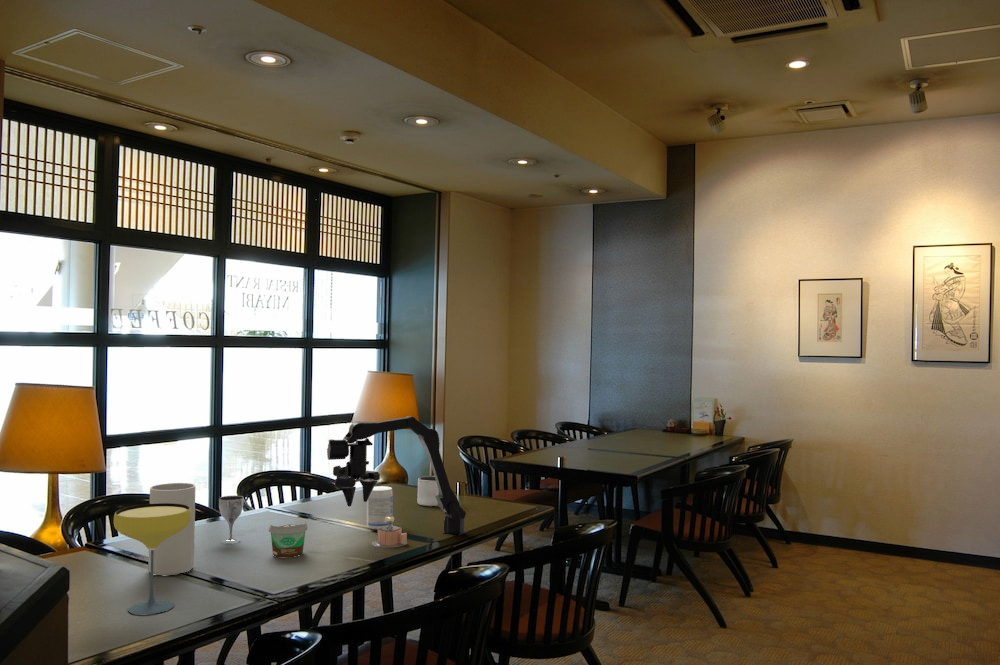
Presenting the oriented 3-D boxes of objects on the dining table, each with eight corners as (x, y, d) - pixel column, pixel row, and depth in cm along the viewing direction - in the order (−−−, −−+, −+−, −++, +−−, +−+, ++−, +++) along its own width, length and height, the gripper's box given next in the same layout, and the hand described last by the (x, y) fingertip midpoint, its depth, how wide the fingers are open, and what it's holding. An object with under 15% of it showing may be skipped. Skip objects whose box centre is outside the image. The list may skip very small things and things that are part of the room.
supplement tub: (396, 529, 289) (397, 489, 290) (373, 532, 284) (373, 491, 284) (385, 523, 297) (386, 485, 298) (362, 526, 292) (362, 487, 292)
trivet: (413, 542, 269) (413, 541, 269) (394, 551, 258) (394, 549, 258) (384, 538, 274) (384, 537, 274) (364, 546, 263) (364, 544, 263)
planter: (445, 507, 329) (445, 480, 329) (415, 507, 329) (416, 480, 329) (447, 501, 341) (448, 475, 342) (419, 501, 342) (419, 475, 342)
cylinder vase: (165, 579, 224) (167, 492, 225) (139, 572, 231) (141, 487, 231) (202, 569, 235) (204, 485, 235) (176, 562, 242) (178, 481, 242)
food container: (272, 560, 245) (272, 528, 245) (268, 556, 250) (268, 524, 251) (311, 556, 251) (311, 525, 251) (306, 551, 256) (307, 521, 256)
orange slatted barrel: (410, 542, 267) (411, 527, 267) (397, 547, 260) (398, 532, 260) (386, 539, 272) (386, 524, 272) (372, 544, 264) (373, 529, 264)
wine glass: (247, 540, 270) (248, 496, 270) (231, 545, 263) (231, 500, 263) (230, 537, 273) (231, 494, 273) (213, 542, 266) (213, 498, 266)
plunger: (400, 539, 267) (400, 516, 268) (391, 543, 263) (392, 519, 263) (387, 537, 270) (387, 515, 270) (378, 541, 265) (379, 518, 265)
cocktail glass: (119, 625, 187) (121, 521, 188) (105, 605, 202) (107, 507, 202) (197, 611, 198) (199, 512, 198) (179, 592, 213) (181, 500, 213)
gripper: (355, 453, 282) (354, 497, 282) (322, 460, 265) (321, 506, 265) (380, 456, 277) (380, 500, 277) (349, 462, 260) (348, 509, 260)
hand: (357, 504), depth 270 cm, fingers open, 9 cm apart
